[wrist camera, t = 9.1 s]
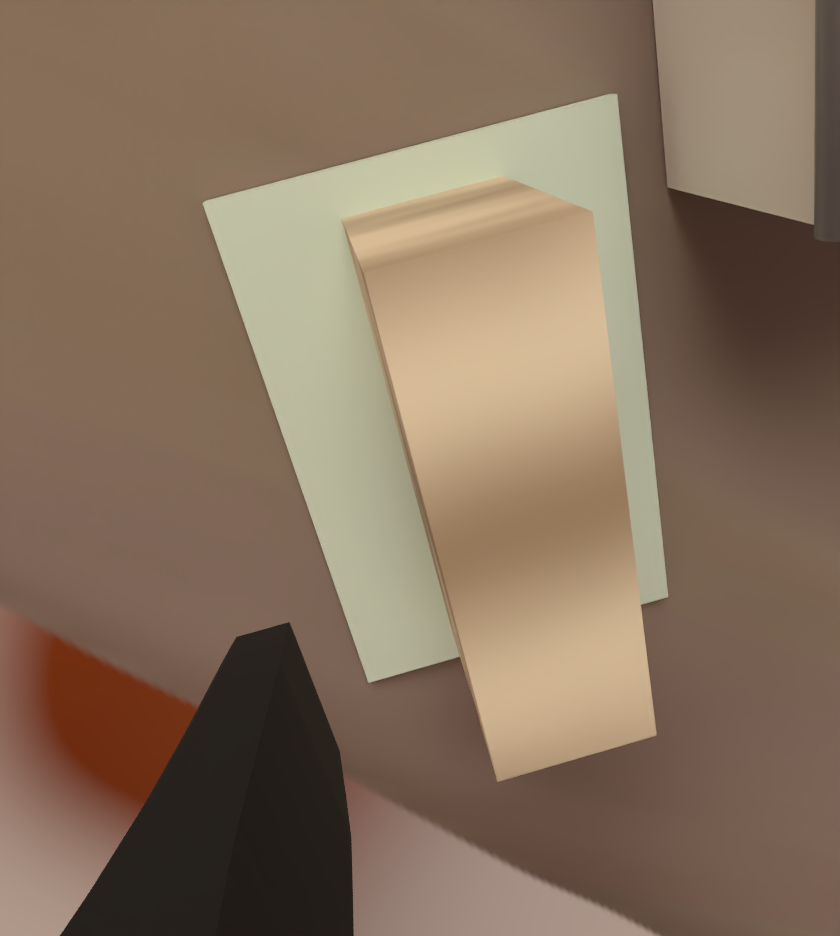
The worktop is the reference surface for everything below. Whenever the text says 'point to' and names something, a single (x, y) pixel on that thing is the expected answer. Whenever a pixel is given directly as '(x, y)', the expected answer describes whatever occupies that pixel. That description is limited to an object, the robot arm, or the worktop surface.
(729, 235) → the worktop surface
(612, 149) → the mat
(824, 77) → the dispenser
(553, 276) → the wooden block
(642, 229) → the worktop surface
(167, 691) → the worktop surface
